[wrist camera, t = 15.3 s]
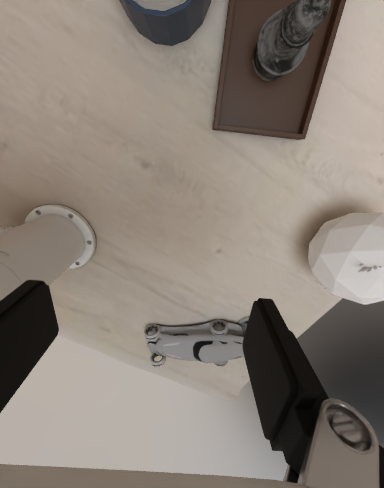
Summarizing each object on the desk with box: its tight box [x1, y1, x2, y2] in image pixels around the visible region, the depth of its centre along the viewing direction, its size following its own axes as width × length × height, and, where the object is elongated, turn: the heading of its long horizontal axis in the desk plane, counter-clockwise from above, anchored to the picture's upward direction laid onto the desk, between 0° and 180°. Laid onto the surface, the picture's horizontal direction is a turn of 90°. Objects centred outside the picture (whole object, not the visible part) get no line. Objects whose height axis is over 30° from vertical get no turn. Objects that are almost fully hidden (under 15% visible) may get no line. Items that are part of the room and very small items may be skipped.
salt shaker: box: [252, 0, 331, 81], centre depth 21 cm, size 6×6×12 cm
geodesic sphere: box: [308, 213, 384, 305], centre depth 32 cm, size 15×14×14 cm
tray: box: [213, 0, 346, 140], centre depth 26 cm, size 13×18×2 cm
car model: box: [144, 319, 244, 367], centre depth 47 cm, size 11×24×5 cm, turn 95°
